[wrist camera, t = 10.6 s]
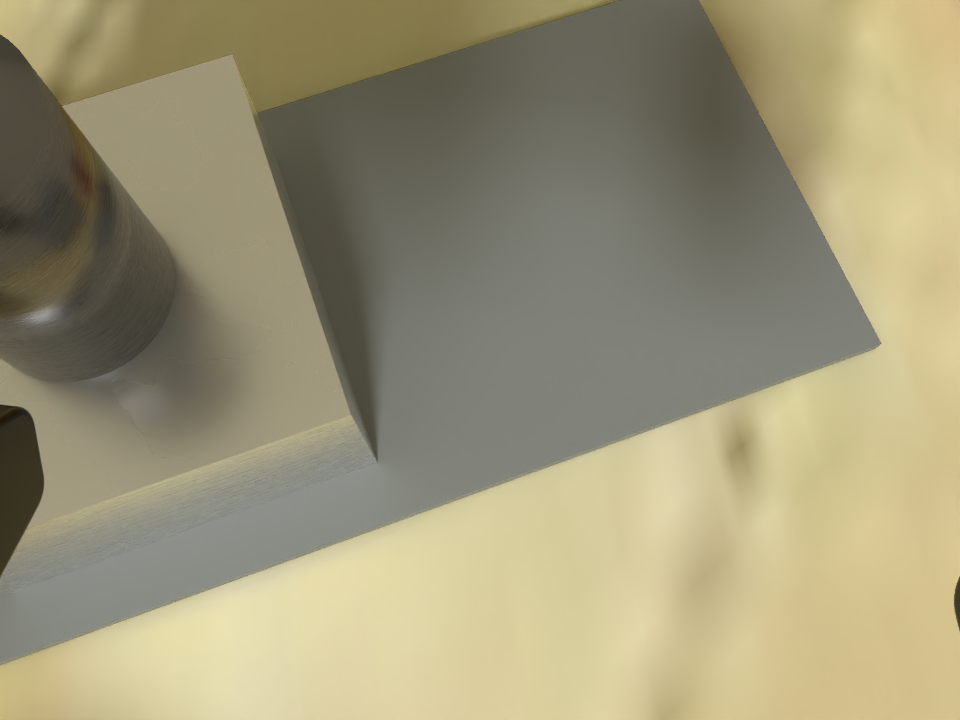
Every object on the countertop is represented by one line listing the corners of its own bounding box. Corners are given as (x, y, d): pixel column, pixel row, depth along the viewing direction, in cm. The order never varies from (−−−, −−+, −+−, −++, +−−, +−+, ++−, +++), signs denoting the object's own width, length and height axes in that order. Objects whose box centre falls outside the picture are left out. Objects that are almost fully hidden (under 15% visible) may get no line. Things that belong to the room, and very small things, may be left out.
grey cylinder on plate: (377, 463, 22) (287, 299, 12) (11, 592, 22) (-401, 528, 12) (276, 158, 25) (135, -176, 15) (-53, 262, 24) (-432, -20, 14)
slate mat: (684, -12, 27) (687, -21, 27) (874, 348, 24) (881, 343, 23) (-95, 231, 25) (-103, 225, 25) (-15, 670, 21) (-25, 670, 21)
